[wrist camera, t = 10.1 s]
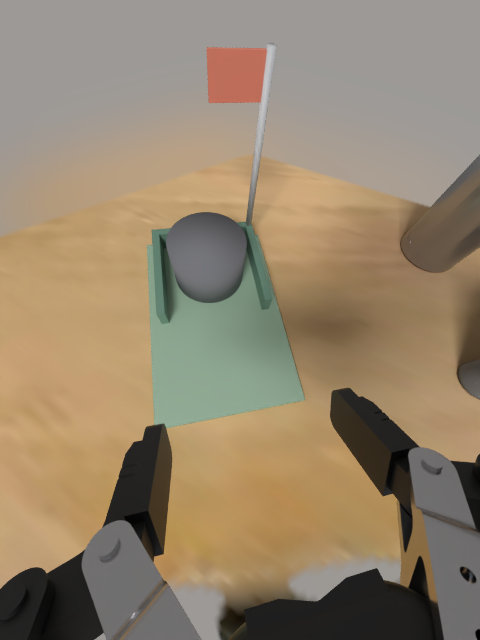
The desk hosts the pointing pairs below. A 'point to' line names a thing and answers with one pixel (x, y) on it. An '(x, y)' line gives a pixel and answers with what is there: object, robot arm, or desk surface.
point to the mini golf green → (230, 314)
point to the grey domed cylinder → (207, 256)
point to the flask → (470, 377)
